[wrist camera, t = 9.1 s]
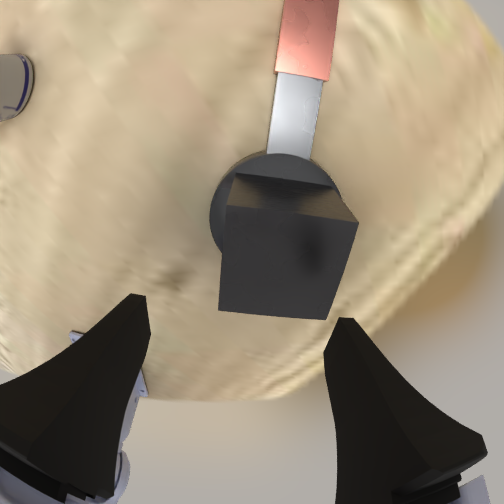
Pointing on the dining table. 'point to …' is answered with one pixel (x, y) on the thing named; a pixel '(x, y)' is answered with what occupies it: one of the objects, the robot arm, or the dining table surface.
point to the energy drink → (14, 84)
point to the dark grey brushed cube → (283, 247)
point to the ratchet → (290, 104)
